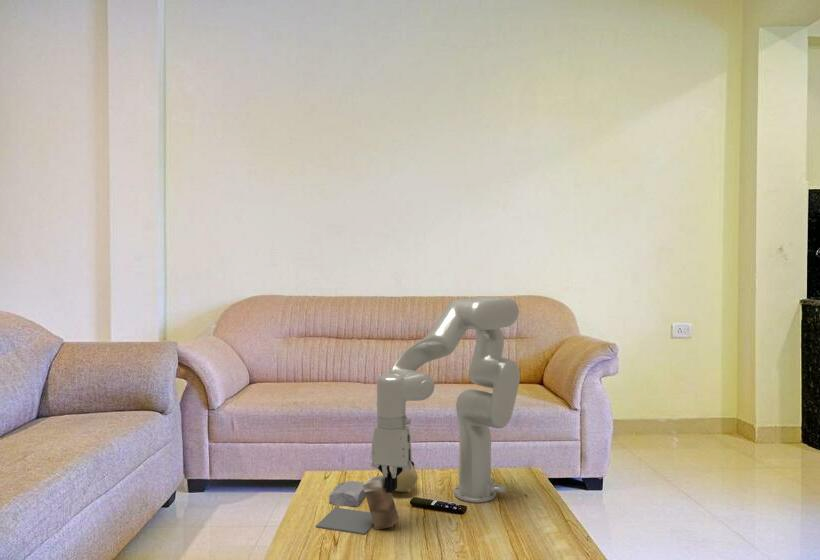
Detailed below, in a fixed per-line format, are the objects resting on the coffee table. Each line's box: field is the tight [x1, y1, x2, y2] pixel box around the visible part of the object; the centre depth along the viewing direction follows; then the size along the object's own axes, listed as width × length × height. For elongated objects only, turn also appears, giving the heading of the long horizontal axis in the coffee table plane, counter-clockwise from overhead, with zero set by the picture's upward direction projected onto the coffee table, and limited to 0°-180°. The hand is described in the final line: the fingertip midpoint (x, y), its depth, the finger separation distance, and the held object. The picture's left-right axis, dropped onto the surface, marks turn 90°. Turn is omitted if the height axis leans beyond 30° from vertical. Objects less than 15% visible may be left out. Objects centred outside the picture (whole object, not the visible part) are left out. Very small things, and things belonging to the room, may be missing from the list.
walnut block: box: [363, 474, 400, 531], centre depth 151 cm, size 5×5×12 cm
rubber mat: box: [315, 507, 374, 536], centre depth 154 cm, size 14×12×1 cm
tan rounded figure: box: [390, 460, 418, 493], centre depth 175 cm, size 10×12×11 cm
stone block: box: [328, 480, 366, 508], centre depth 170 cm, size 12×5×10 cm
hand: (390, 491), depth 150 cm, fingers closed
